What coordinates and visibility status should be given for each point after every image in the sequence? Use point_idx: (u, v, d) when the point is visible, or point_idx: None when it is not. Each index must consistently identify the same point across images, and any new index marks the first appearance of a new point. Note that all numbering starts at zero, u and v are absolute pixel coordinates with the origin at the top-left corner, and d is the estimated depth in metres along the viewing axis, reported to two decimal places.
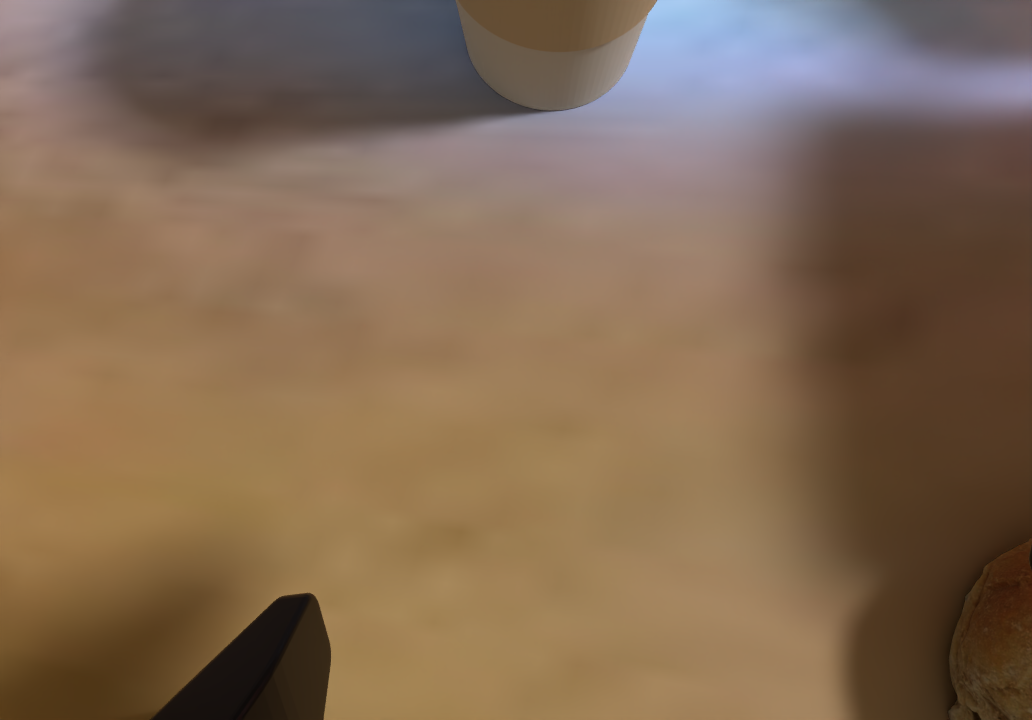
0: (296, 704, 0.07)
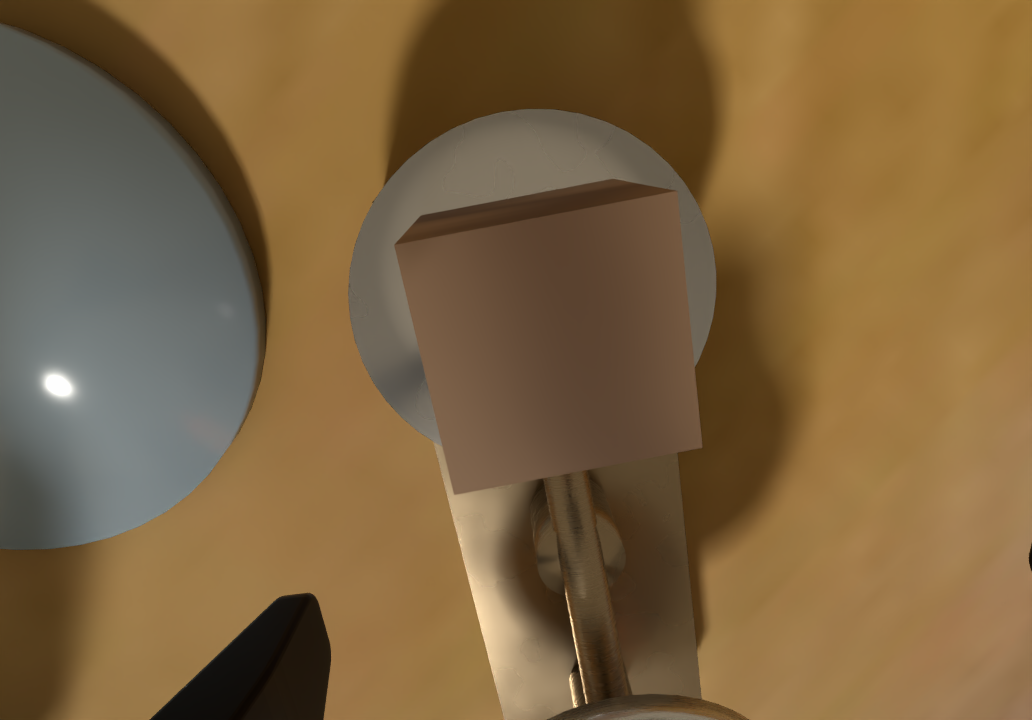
0: (296, 704, 0.07)
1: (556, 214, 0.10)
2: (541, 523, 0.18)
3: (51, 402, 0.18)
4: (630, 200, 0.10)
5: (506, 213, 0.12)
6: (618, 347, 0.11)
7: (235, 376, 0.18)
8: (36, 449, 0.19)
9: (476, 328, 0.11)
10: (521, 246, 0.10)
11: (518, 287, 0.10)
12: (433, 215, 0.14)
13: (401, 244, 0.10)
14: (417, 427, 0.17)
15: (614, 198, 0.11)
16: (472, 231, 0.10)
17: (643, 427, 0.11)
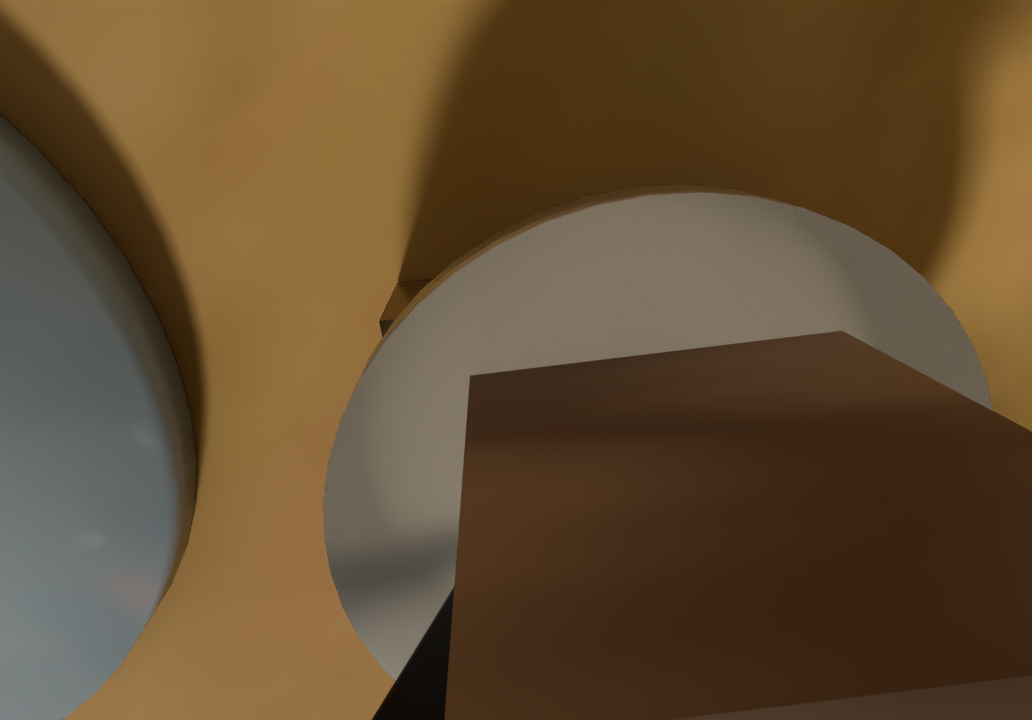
0: None
1: (994, 680, 0.03)
2: None
3: None
4: None
5: (720, 508, 0.05)
6: None
7: (137, 562, 0.11)
8: None
9: None
10: None
11: None
12: (500, 394, 0.07)
13: None
14: None
15: None
16: (707, 719, 0.03)
17: None
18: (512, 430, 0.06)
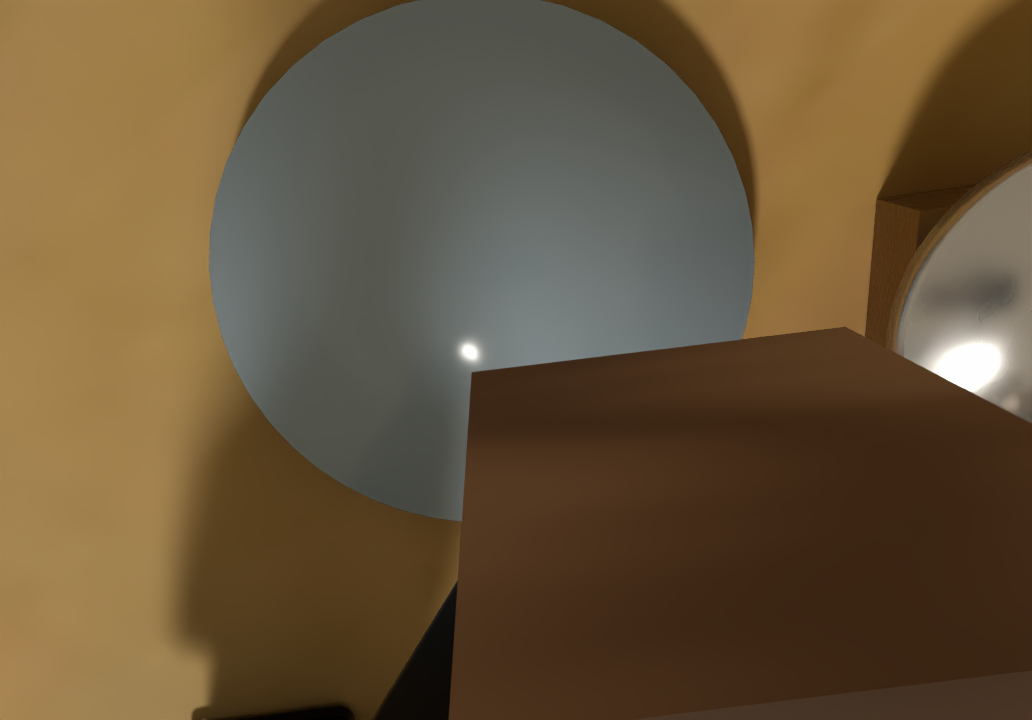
0: None
1: (1004, 675, 0.03)
2: None
3: None
4: None
5: (724, 503, 0.04)
6: None
7: None
8: None
9: None
10: None
11: None
12: (502, 391, 0.07)
13: None
14: None
15: None
16: (716, 714, 0.03)
17: None
18: (515, 426, 0.06)
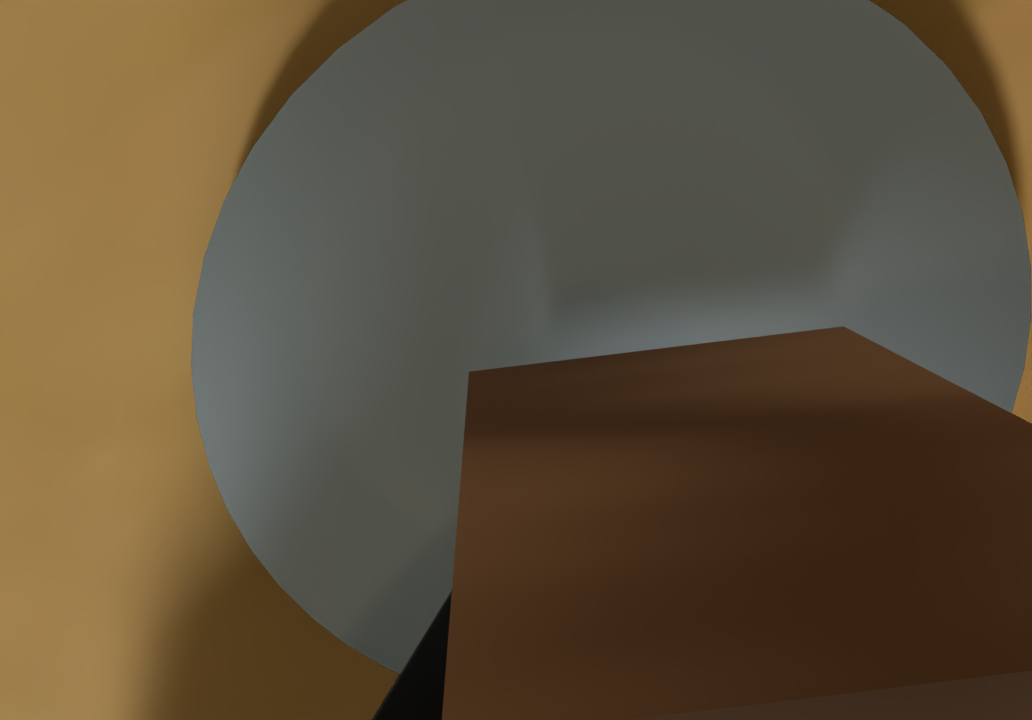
0: None
1: (1001, 676, 0.03)
2: None
3: None
4: None
5: (721, 503, 0.04)
6: None
7: None
8: None
9: None
10: None
11: None
12: (499, 390, 0.07)
13: None
14: None
15: None
16: (710, 714, 0.03)
17: None
18: (511, 425, 0.06)
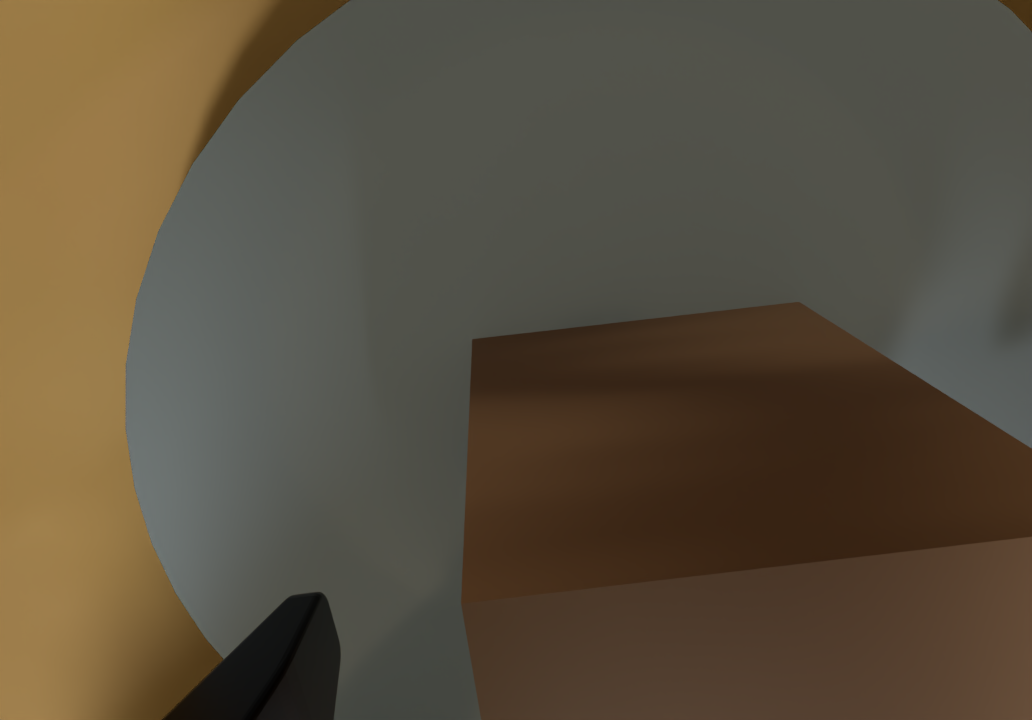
0: (308, 702, 0.07)
1: (857, 557, 0.04)
2: None
3: None
4: None
5: (676, 445, 0.06)
6: None
7: None
8: None
9: None
10: (757, 615, 0.04)
11: (732, 688, 0.05)
12: (499, 355, 0.08)
13: (479, 602, 0.04)
14: None
15: (948, 480, 0.05)
16: (651, 583, 0.04)
17: None
18: (509, 385, 0.07)
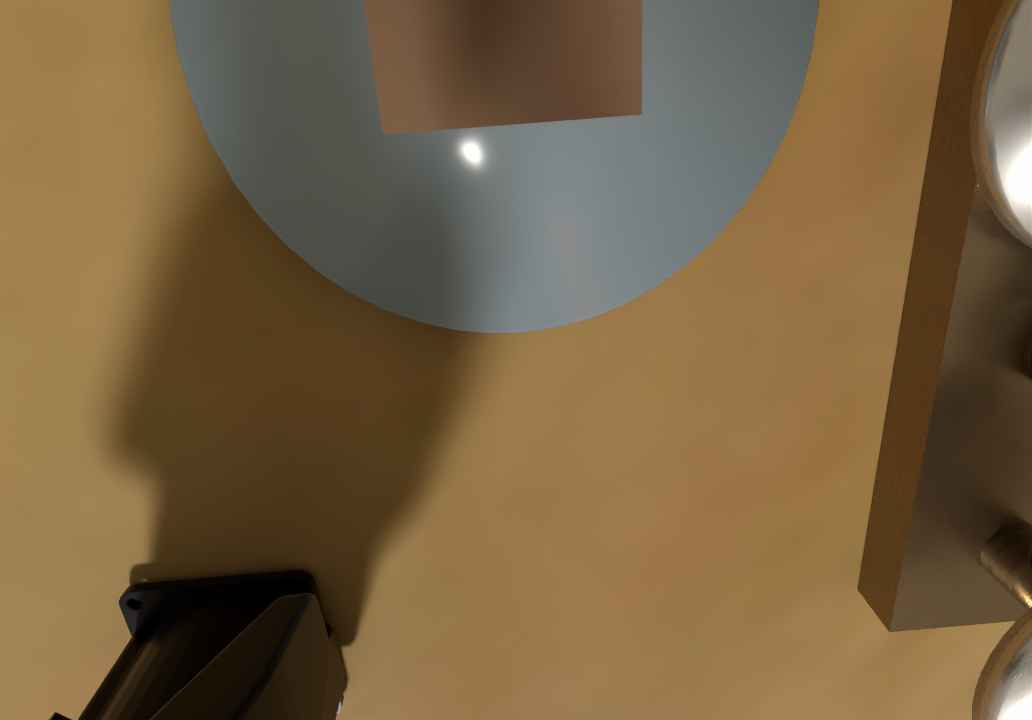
0: (296, 704, 0.07)
1: None
2: None
3: (555, 153, 0.16)
4: None
5: None
6: None
7: (761, 146, 0.16)
8: (518, 209, 0.17)
9: None
10: None
11: None
12: None
13: None
14: (1015, 206, 0.15)
15: None
16: None
17: (583, 80, 0.11)
18: None
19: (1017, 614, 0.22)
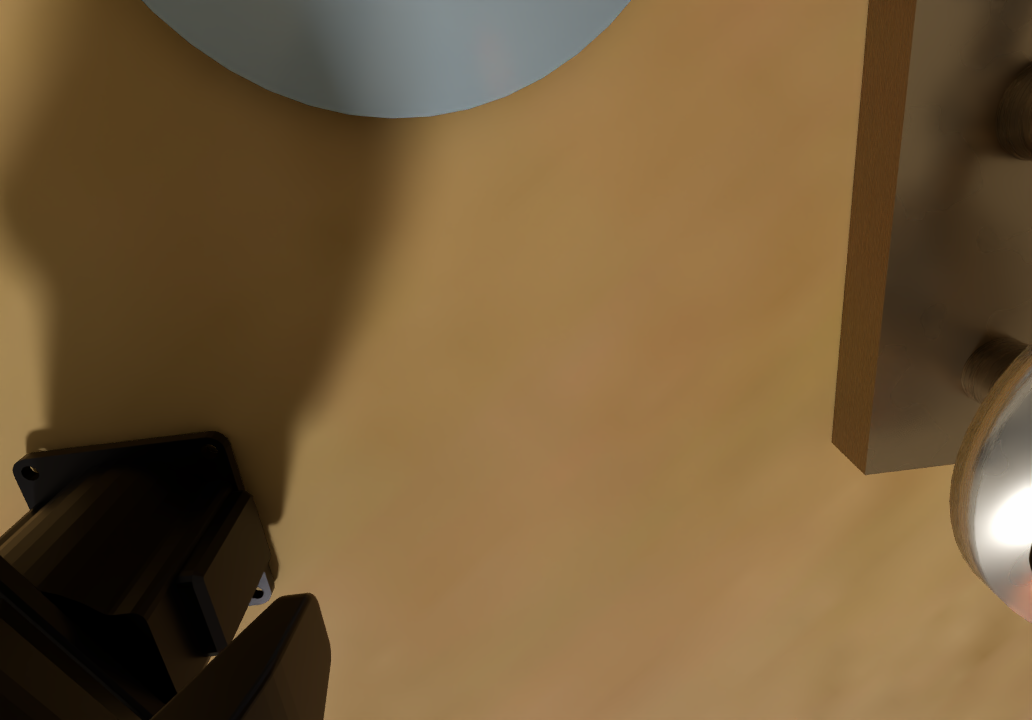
0: (296, 704, 0.07)
1: None
2: None
3: None
4: None
5: None
6: None
7: None
8: None
9: None
10: None
11: None
12: None
13: None
14: None
15: None
16: None
17: None
18: None
19: None
